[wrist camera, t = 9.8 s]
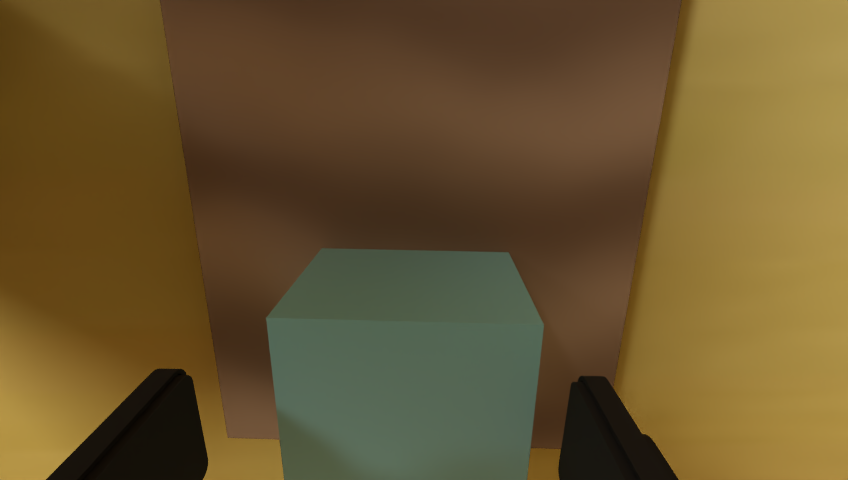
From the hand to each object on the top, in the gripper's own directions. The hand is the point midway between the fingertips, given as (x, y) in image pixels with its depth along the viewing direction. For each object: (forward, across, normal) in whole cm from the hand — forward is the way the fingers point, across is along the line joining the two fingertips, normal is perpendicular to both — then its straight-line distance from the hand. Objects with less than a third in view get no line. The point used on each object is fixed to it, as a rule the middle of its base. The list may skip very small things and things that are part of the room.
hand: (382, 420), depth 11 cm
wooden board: (+7, -1, -4) cm, 8 cm away
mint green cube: (+5, -1, +1) cm, 5 cm away
